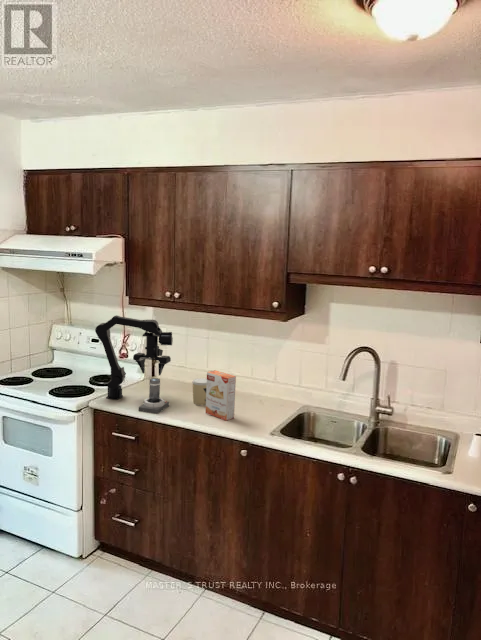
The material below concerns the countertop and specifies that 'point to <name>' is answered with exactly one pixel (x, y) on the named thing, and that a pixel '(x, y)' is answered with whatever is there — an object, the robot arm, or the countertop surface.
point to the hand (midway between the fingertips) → (151, 374)
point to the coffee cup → (199, 391)
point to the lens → (154, 390)
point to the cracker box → (220, 394)
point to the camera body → (153, 406)
